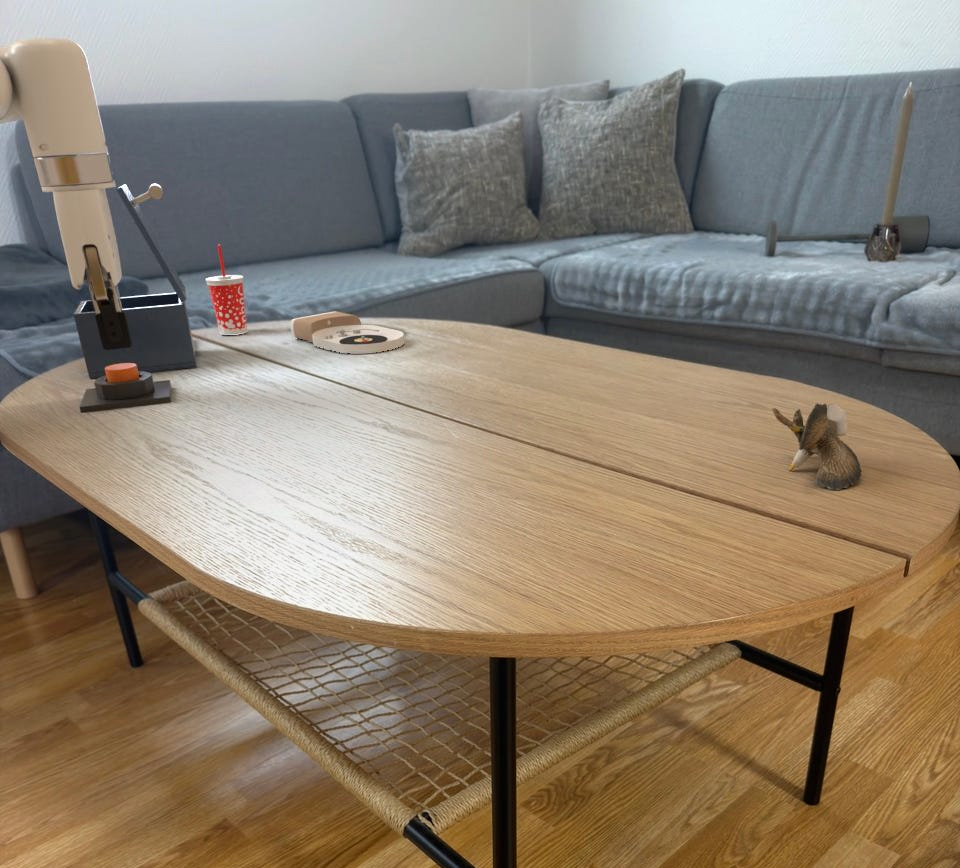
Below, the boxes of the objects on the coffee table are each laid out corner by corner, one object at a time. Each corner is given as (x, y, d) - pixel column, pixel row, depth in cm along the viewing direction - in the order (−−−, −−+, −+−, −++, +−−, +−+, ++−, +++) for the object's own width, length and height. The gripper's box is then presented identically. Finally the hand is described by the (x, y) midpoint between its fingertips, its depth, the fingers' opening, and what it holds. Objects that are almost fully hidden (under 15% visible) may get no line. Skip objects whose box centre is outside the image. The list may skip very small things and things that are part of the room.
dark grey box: (89, 379, 122) (73, 314, 118) (96, 360, 133) (81, 300, 128) (196, 367, 126) (184, 304, 121) (194, 350, 136) (183, 292, 132)
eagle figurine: (746, 446, 81) (779, 460, 72) (792, 378, 79) (831, 384, 70) (811, 487, 82) (852, 505, 73) (858, 421, 80) (905, 432, 72)
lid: (115, 189, 113) (151, 172, 113) (120, 186, 124) (153, 170, 124) (181, 302, 121) (214, 285, 122) (180, 290, 132) (210, 275, 132)
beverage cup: (237, 337, 144) (222, 247, 138) (207, 336, 146) (191, 247, 140) (259, 330, 149) (245, 242, 143) (230, 329, 151) (215, 242, 145)
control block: (84, 425, 101) (75, 391, 99) (90, 406, 109) (82, 374, 107) (173, 414, 103) (166, 381, 101) (173, 397, 111) (166, 365, 109)
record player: (344, 309, 145) (418, 324, 132) (346, 328, 147) (419, 345, 133) (283, 320, 139) (354, 337, 125) (286, 340, 140) (356, 359, 127)
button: (107, 386, 102) (103, 371, 101) (109, 379, 105) (105, 365, 105) (139, 382, 103) (135, 367, 102) (140, 376, 106) (136, 361, 105)
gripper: (47, 175, 99) (89, 339, 108) (29, 179, 87) (78, 364, 95) (116, 171, 101) (152, 332, 110) (108, 174, 88) (150, 356, 97)
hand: (118, 347), depth 102 cm, fingers closed
